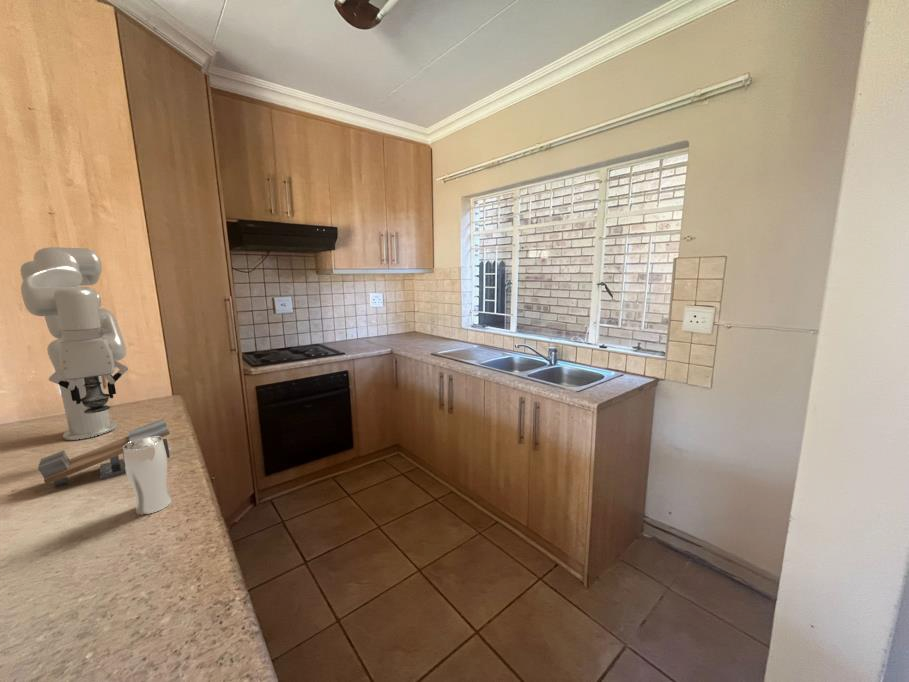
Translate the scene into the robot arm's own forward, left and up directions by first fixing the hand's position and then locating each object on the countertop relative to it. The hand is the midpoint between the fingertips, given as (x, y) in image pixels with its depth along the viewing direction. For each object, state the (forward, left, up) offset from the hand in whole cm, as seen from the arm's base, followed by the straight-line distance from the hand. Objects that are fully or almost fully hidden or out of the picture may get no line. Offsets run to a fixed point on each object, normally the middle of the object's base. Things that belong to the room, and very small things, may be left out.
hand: (95, 399), depth 100 cm
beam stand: (+12, +2, -17) cm, 21 cm away
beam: (+12, +2, -12) cm, 17 cm away
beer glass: (+39, +8, -17) cm, 44 cm away
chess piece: (0, 0, -3) cm, 3 cm away
